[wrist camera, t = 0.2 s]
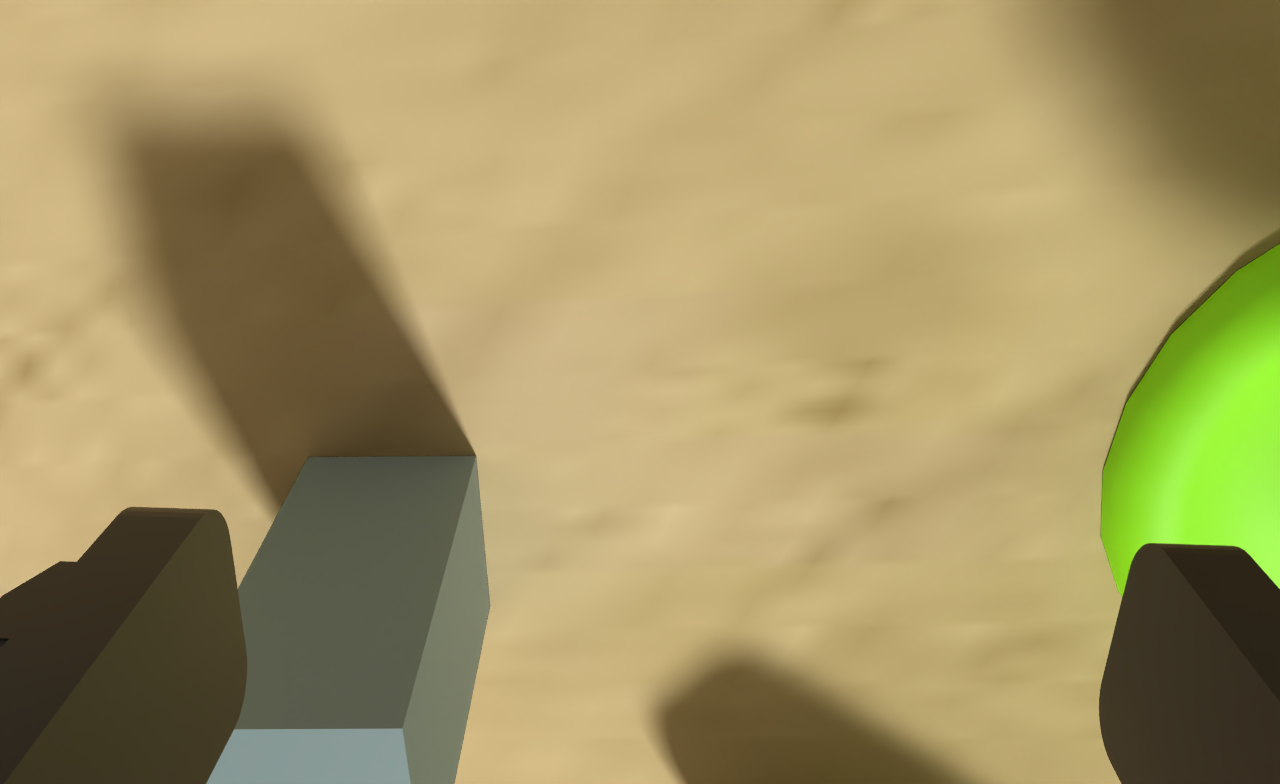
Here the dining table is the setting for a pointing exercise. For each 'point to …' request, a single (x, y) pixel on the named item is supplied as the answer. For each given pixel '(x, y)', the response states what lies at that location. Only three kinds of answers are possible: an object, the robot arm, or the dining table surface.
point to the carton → (363, 626)
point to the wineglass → (1204, 433)
